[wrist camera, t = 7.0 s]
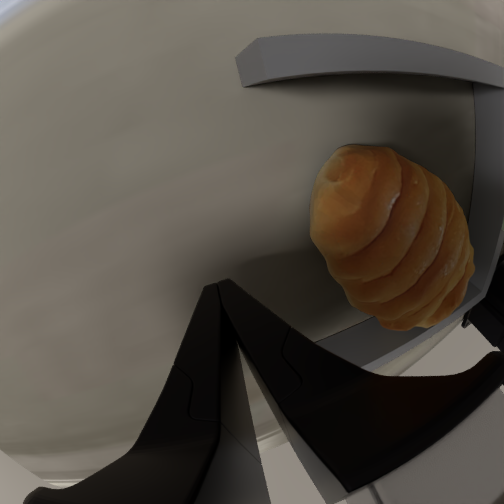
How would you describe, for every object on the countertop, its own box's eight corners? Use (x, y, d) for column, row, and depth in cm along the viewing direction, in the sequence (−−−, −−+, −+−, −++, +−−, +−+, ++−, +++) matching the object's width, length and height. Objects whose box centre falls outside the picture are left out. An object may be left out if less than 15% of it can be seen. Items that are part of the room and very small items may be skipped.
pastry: (253, 239, 10) (292, 308, 7) (361, 93, 8) (442, 101, 5) (381, 312, 14) (419, 358, 11) (451, 220, 12) (500, 253, 9)
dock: (478, 66, 8) (524, 74, 5) (462, 277, 15) (490, 302, 13) (235, 57, 6) (265, 31, 4) (299, 359, 14) (321, 405, 11)
